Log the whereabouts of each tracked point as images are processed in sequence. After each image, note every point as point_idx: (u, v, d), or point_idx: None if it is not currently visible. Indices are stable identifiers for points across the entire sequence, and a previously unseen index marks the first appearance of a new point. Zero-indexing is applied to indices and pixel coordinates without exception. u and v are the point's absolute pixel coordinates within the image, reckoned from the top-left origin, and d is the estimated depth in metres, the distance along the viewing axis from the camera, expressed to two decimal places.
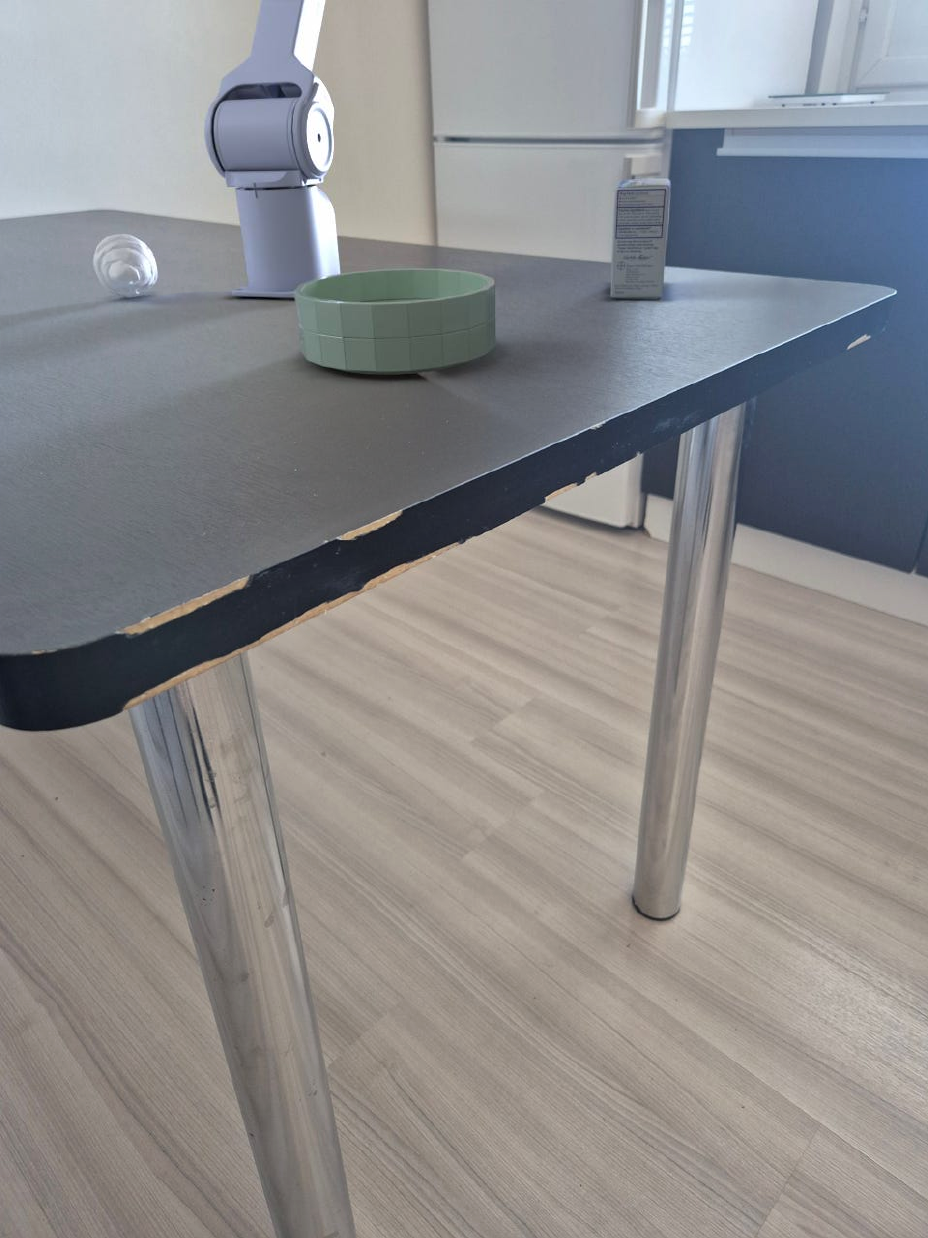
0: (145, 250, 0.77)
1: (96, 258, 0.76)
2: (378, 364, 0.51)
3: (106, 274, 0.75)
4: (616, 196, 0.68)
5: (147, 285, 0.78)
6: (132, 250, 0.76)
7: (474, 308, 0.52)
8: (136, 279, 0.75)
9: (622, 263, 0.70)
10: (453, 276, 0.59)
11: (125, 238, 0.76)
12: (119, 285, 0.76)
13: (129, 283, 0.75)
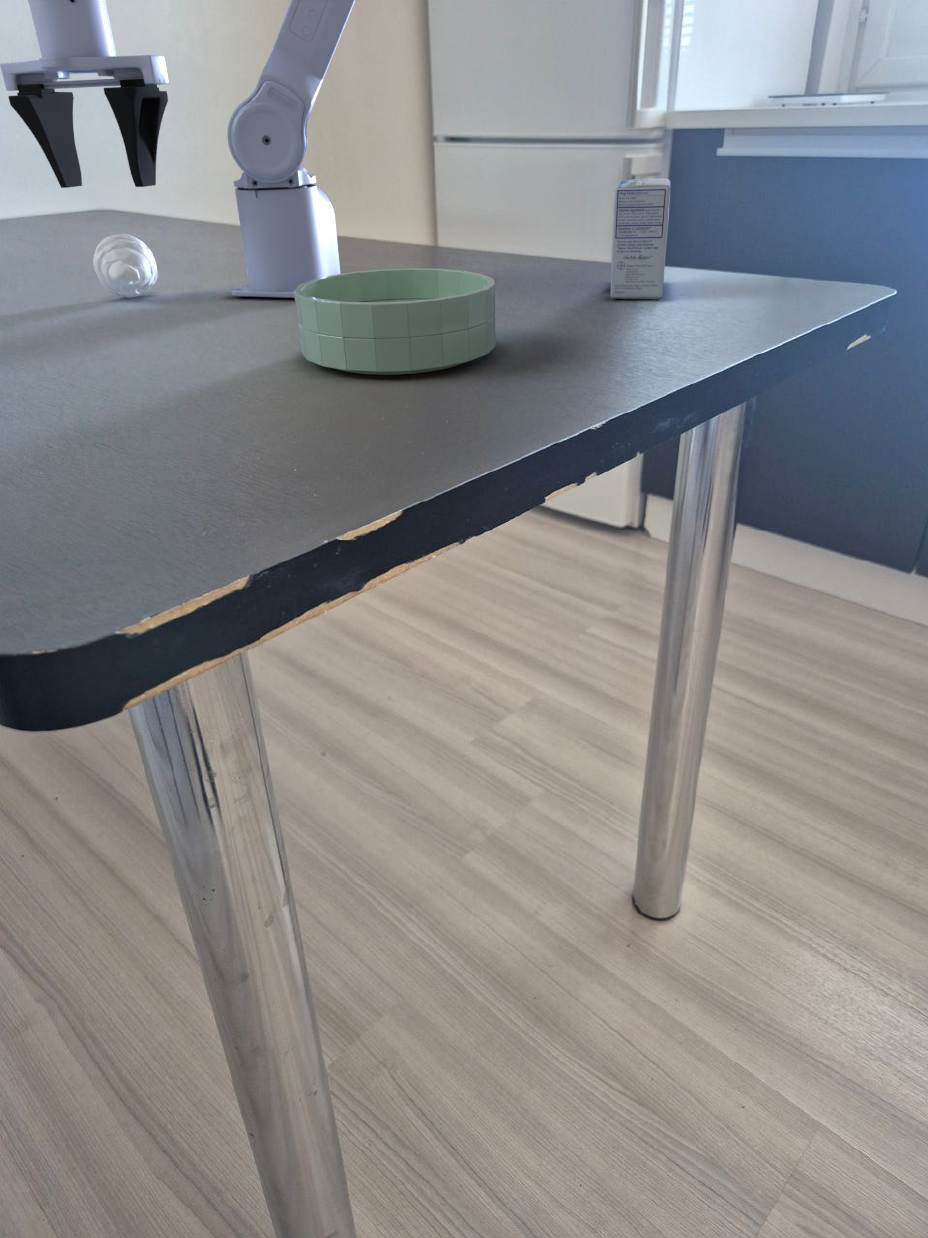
0: (145, 250, 0.77)
1: (96, 258, 0.76)
2: (378, 364, 0.51)
3: (106, 274, 0.75)
4: (616, 196, 0.68)
5: (147, 285, 0.78)
6: (132, 250, 0.76)
7: (474, 308, 0.52)
8: (136, 279, 0.75)
9: (622, 263, 0.70)
10: (453, 276, 0.59)
11: (125, 238, 0.76)
12: (119, 285, 0.76)
13: (129, 283, 0.75)
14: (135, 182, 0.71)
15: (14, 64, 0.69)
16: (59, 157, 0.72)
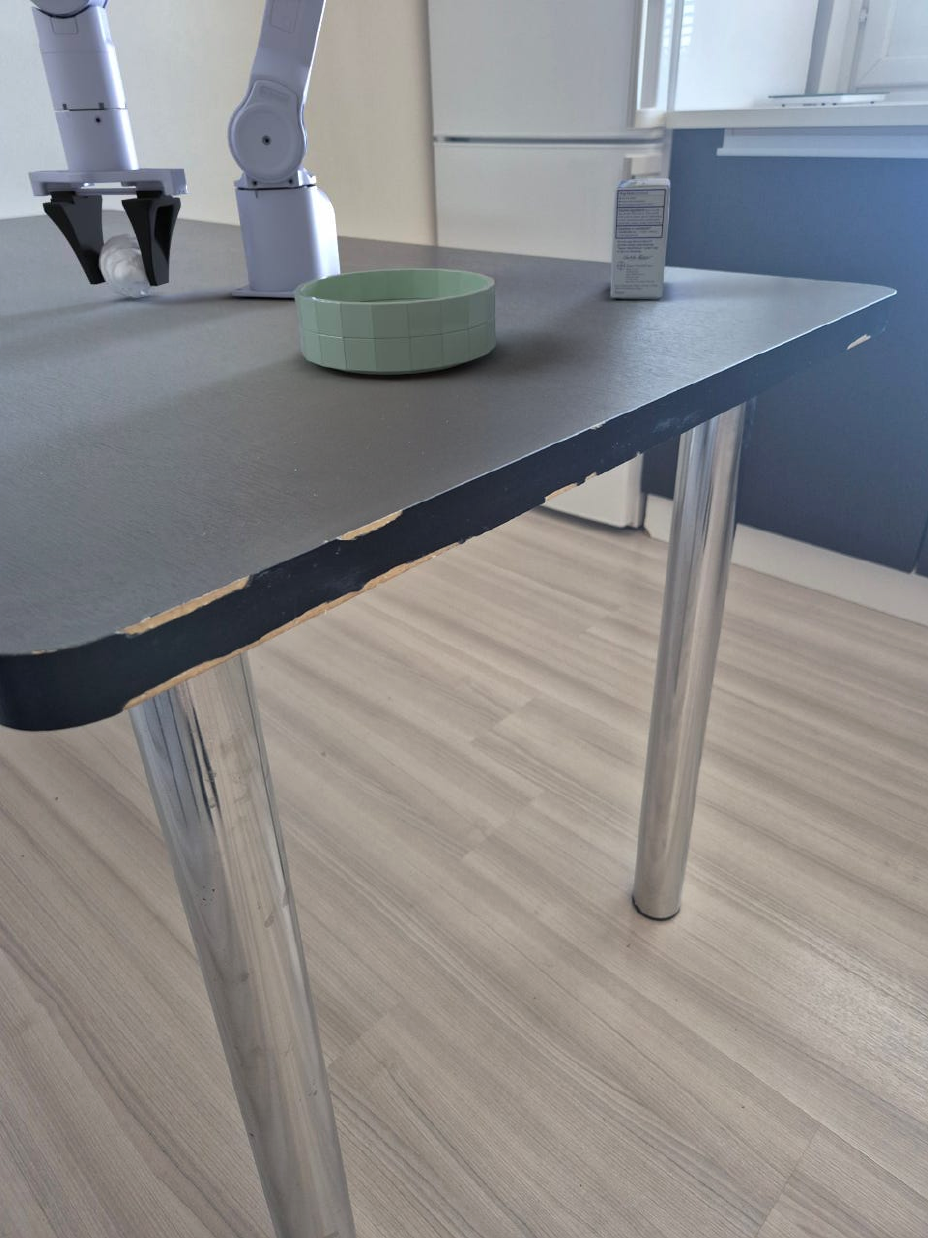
0: None
1: (102, 258, 0.75)
2: (378, 364, 0.51)
3: (111, 274, 0.75)
4: (616, 196, 0.68)
5: None
6: (137, 250, 0.75)
7: (474, 308, 0.52)
8: (141, 279, 0.75)
9: (622, 263, 0.70)
10: (453, 276, 0.59)
11: (131, 238, 0.76)
12: (124, 285, 0.76)
13: (134, 283, 0.75)
14: (150, 281, 0.75)
15: (42, 173, 0.73)
16: (89, 257, 0.76)
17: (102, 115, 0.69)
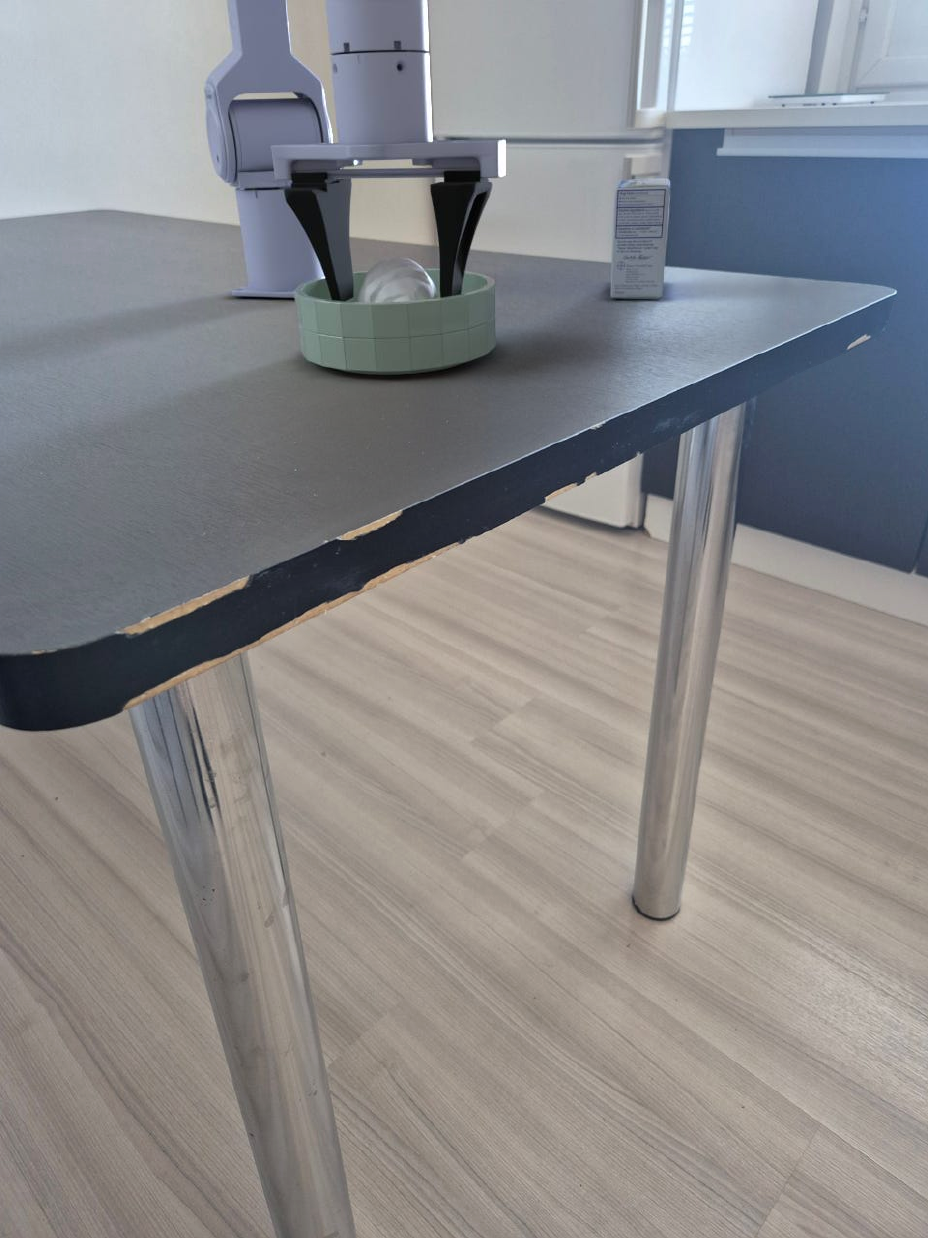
0: (430, 280, 0.56)
1: (368, 292, 0.55)
2: (378, 364, 0.51)
3: None
4: (616, 196, 0.68)
5: None
6: (418, 280, 0.54)
7: (474, 308, 0.52)
8: None
9: (622, 263, 0.70)
10: None
11: (406, 264, 0.55)
12: None
13: None
14: None
15: (294, 148, 0.52)
16: (336, 265, 0.55)
17: (406, 60, 0.47)
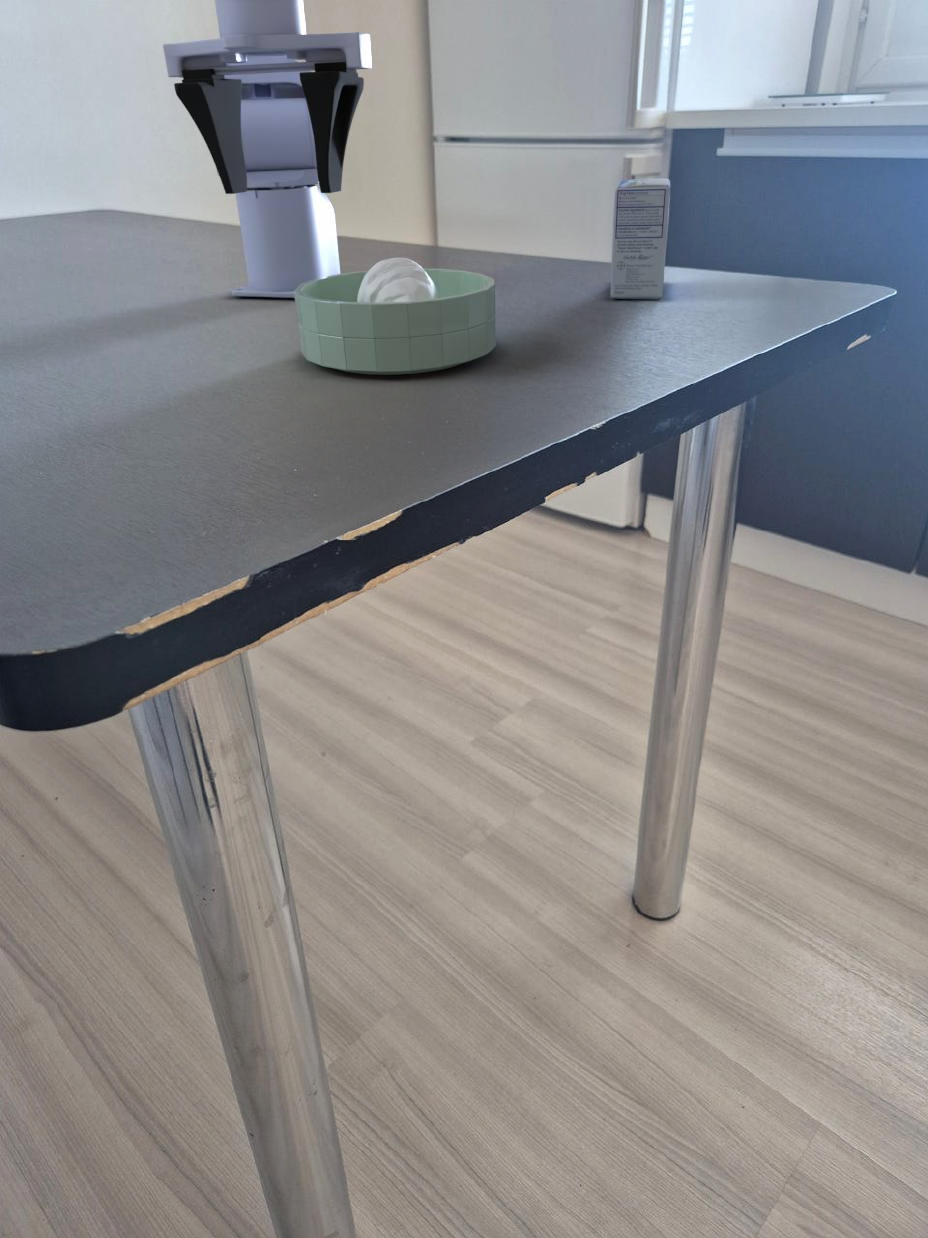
0: (430, 280, 0.56)
1: (368, 292, 0.55)
2: (378, 364, 0.51)
3: None
4: (616, 196, 0.68)
5: None
6: (418, 280, 0.54)
7: (474, 308, 0.52)
8: None
9: (622, 263, 0.70)
10: (453, 276, 0.59)
11: (406, 264, 0.55)
12: None
13: None
14: (322, 187, 0.59)
15: (182, 45, 0.57)
16: (227, 157, 0.60)
17: None
